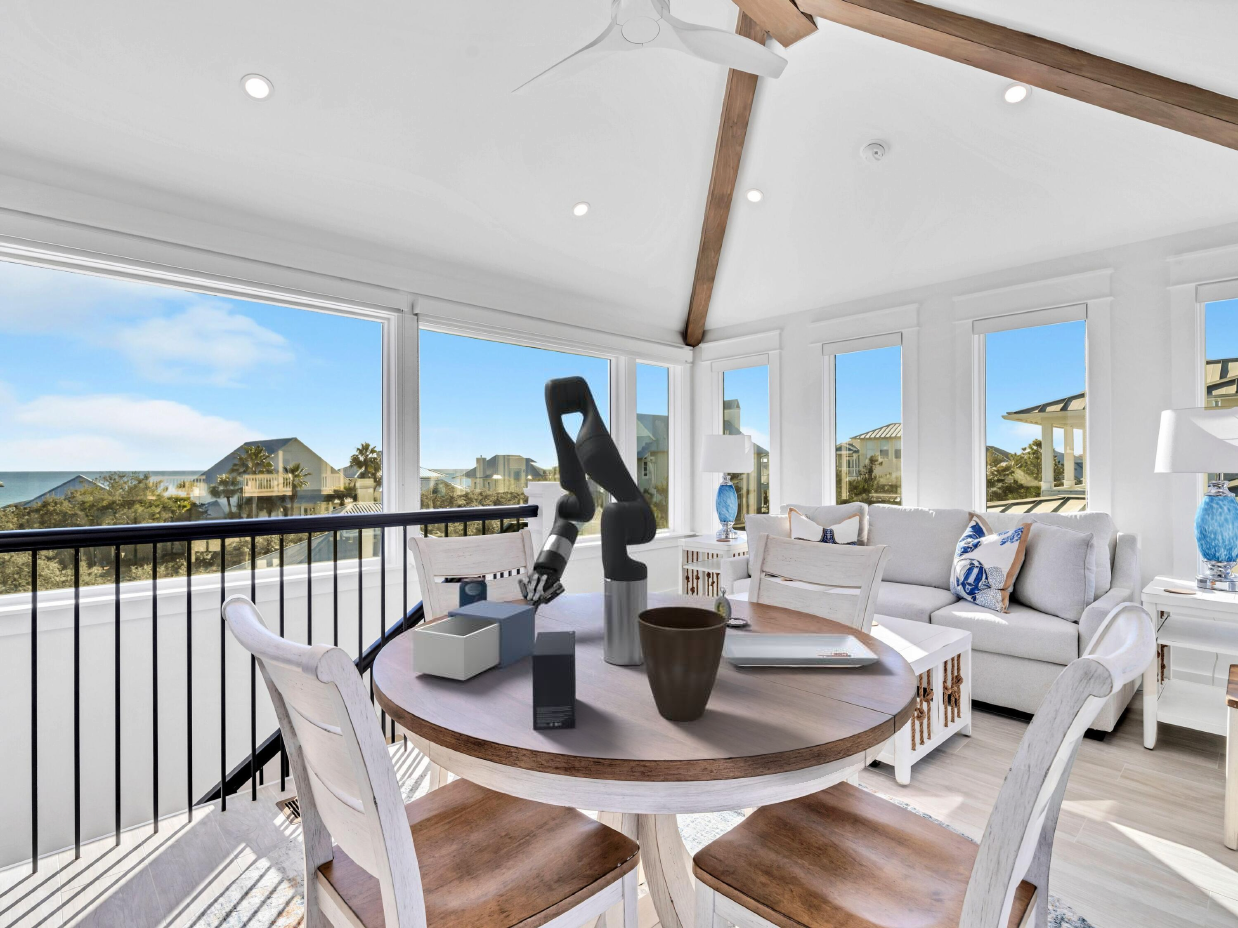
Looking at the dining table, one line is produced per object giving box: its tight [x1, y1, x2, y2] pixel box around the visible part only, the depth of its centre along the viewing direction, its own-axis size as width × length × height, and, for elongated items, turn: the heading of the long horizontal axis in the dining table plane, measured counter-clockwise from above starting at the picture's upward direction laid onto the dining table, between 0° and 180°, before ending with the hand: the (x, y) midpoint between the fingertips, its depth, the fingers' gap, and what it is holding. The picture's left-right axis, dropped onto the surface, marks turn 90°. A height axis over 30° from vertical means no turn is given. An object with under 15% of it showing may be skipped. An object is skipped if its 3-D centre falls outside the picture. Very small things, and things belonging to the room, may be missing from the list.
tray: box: [721, 632, 880, 666], centre depth 132 cm, size 17×31×4 cm, turn 89°
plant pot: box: [637, 606, 728, 722], centre depth 103 cm, size 15×15×16 cm
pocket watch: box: [714, 586, 749, 627], centre depth 160 cm, size 8×8×10 cm
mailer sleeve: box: [447, 600, 536, 669], centre depth 134 cm, size 14×12×10 cm
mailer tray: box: [412, 616, 501, 681], centre depth 129 cm, size 12×24×8 cm, turn 155°
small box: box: [531, 630, 577, 731], centre depth 103 cm, size 13×7×12 cm, turn 4°
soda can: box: [458, 576, 488, 608], centre depth 158 cm, size 7×7×12 cm
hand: (527, 616), depth 147 cm, fingers closed
